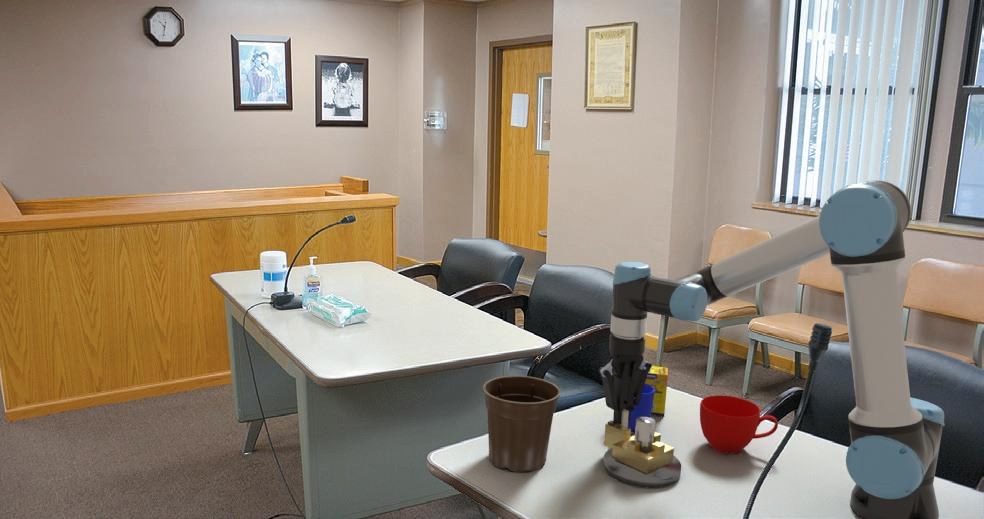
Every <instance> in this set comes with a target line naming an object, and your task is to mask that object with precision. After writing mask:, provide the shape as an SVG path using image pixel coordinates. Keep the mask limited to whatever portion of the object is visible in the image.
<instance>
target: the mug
mask: <svg viewBox="0 0 984 519" xmlns="http://www.w3.org/2000/svg"><path fill="white" fill-rule="evenodd" d="M654 394H655V388H654V387H653V386H651V385H649V384H646V383H645V385H644V388H643V392H642V396H641V399H640V403H639V405H638V406H636V405H635V406H634V408H635V410H634V411H631V416H630V422H629V423H628V427H627V428H630V429H631V431H632V432H635V426H636V419H637V418H638V417H649V418H652V415H651V411H652V405H653V400H654ZM634 399H635V398H634Z"/></svg>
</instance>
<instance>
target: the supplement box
mask: <svg viewBox="0 0 984 519" xmlns="http://www.w3.org/2000/svg"><path fill="white" fill-rule="evenodd" d="M668 379H669V369H668V367H664V366H657V365H652V367H651V369H650V370H649V372H648V374H647V378H646V381H645V383H646V384H649V385H651V386H653V387H654V388H655V394H654V400H653V405H652V411H651V416H658V417H665V412H666V411H665V410H666V402H667V401H666V400H667V399H666V398H667V389H668V388H667V387H668Z"/></svg>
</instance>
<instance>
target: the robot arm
mask: <svg viewBox="0 0 984 519" xmlns="http://www.w3.org/2000/svg"><path fill="white" fill-rule="evenodd" d="M911 215H912V208H911V203H910V200H909V198H908V196H907V194H905V192H904V191H903V190H902V189H901V188H900V187H898V186H897V185H895V184H893V183H890V182H889V181H885V180H869V181H864V182H861V183H858V182H857V183H856V182H855V183H854V184H848V185H845V186H843V187H842V188H840V189H838V190H837V191H835V192H834V193H833V194H831V196H829V197H828V199H827V200H826V201H825V203H824V204H823V206H822V208H821V209H820V213H819V215H818V216H816V217H813V218H811V219H809V220H807V221H805V222H803V223H800V224H798V225H796V226H794V227H791V228H789V229H786V230H785V231H783V232H780V233H778V234H776V235H775V236H772V237H770V238H767V239H765V240H763V241H761V242H759V243H756V244H755V245H752V246H750V247H748V248H745V249H743V250H741V251H738V252H736V253H735V254H732V255H730V256H728V257H725V258H723V259H721V260H719V261H717V262H715V263H713V264H710V265H708V266H706V267H703V268H702V269H701V268H700V269H698V270H696V271H695V272H692V273H690V274H687V275H684V276H681V277H678V278H676V279H675V278H674V279H669V278H664V277H663V278H662V277H658V276H654V275H652V272H651V271H652V270H651V267H650V265H649V264H646V263H644V262H639V261H622V262H619V263H617V264H616V266H615V268H614V275H613V281H612V301H611V302H612V303H611V304H612V305H611V314H610V315H611V316H610V327H609V329H610V332H611V333H610V335H609V344H608V348H609V352H610V353H609V354H610V355H609V357H608V359H607V364H606V365H605V366H603V367H601V366H600V367H598V369H597V370H598V373H599V375H600V377H601V380H602V382H601V383H602V388H603V394H604V399H605V404H606V407H607V408H609V409H611V410H613V416H612V421H615V422H617V423H618V424H620V425H622V426H625V427H628V423H629V422H630V416H631V411H634V410H635V408H634V406H635V405H636V406H638V405H639V403H640V399H641V396H642V392H643V388H644V385H645V381H646V378H647V374H648V372H649V370H650V369H651V367H652V366H653V365H652V362H649V361H647V360H645V359H644V355H643V354H645V350H646V349H645V348H646V336H645V335H647V334H646V333H647V325H648V324H647V320H648V313H650V314H655V315H659V316H664V317H668V318H672V319H677V320H679V321H689V322H697V321H699V320H701V318H702V316H703V315H705V312H706V310H707V307H708V306H709V305H712V304H715V303H717V302H719V301H721V300H724V299H725V298H727V297H729V296H732V295H735V294H737V293H739V292H742V291H745V290H747V289H749V288H751V287H754V286H756V285H759V284H762V283H764V282H765V281H768V280H771V279H774V278H775V277H777V276H780V275H783V274H786V273H787V272H790V271H792V270H795V269H797V268H800V267H802V266H804V265H806V264H810V263H812V262H814V261H816V260H817V261H818V260H819V259H822V258H824V257H826V256H829V255H830V256H829V258H830V265H831V266H832V267H833V268H835V269H836V270H837V271H838V272H840V274H841V279H842V286H843V296H844V305H845V315H846V323H847V324H846V325H847V333H848V340H849V341H848V342H849V349H850V350H849V351H850V359H851V360H850V361H851V369H852V370H851V371H852V379H853V388H854V396H855V397H854V398H855V403H856V405H855V407H854V408H853V409H852V410H851V412H849V414H848V424H849V434H850V436H849V437H850V442H851V443H850V445H849V446H848V448H847V452H846V458H845V465H846V469H847V473H848V474H849V476H850V478H851V480H852V481H853V482H854V483H855V485H854V487H853V488H852V491H851V494H850V500H849V505H850V507H851V509H852V510H853V511H854V512H855V513H856V515H858V516H859V517H860V516H861V517H860V518H862V519H863V518H864V519H939V517H940V512H939V511H940V510H939V507H938V506H939V505H938V501H937V496H936V493H935V492H936V491H935V487H934V482H935V476H936V470H937V463H938V458H939V451H940V445H941V440H942V439H941V438H942V432H943V427H945V413H944V410H943V409H942V408H941V407H939V406H938V405H936V404H934V403H931V402H929V401H926V400H922V399H919V398H914V397H911V392H910V383H909V372H908V364H907V355H906V346H905V336H904V326H903V318H902V317H903V316H902V309H901V308H902V307H901V300H900V289H899V279H898V272H897V270H898V267H900V265H901V264H902V263H903V261H905V260H906V252H905V251H906V250H905V242H904V232H905V230H906V229H907V227H908V225H909V224H910V221H911V217H912V216H911ZM634 398H635V399H634Z"/></svg>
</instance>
